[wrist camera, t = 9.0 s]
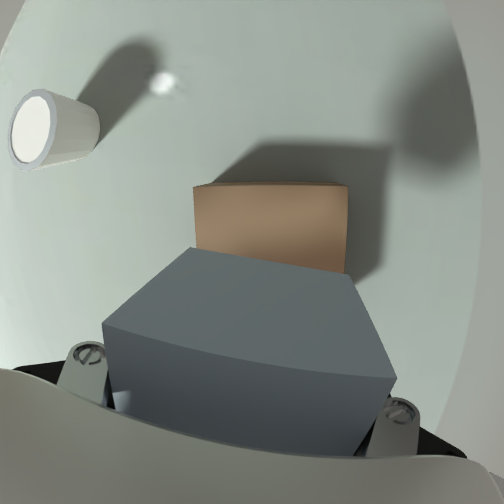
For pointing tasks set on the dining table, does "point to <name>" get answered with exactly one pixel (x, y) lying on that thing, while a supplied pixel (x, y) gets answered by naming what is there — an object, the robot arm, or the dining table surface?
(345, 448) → the slate cube
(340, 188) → the walnut block
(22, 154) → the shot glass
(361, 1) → the dining table surface
